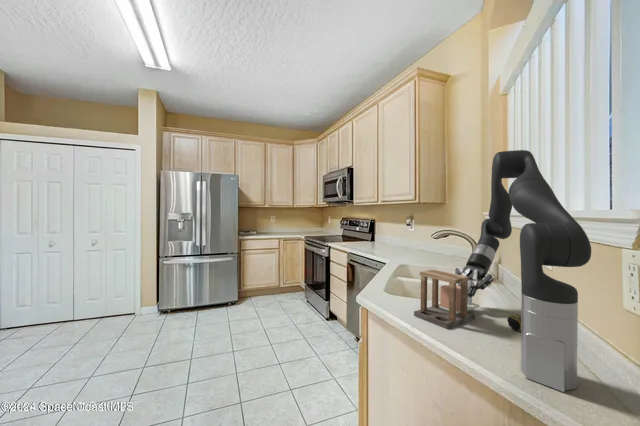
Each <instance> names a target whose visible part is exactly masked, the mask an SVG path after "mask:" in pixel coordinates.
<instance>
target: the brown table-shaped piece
mask: <svg viewBox="0 0 640 426" xmlns="http://www.w3.org/2000/svg"><path fill="white" fill-rule="evenodd" d="M462 275H463V274H462ZM462 275H457V274H455V273H451V272H446V271H442V270H437V269H430V270H429V269H428V270H423V271H419V276H420V309H418V310H414V311H413V316H414V317H416V318H418V319H421V320H424V321H426V322H428V323H431V324H433V325H436V326H439V327H441V328H444V329H446V330H448V329H450V328H453V327H456V326H459V325H461V324H465V323H466V322H469V321H472V320H475V319H476V313H474V312H471V311H467V300H468V281H469V277H467V276H462ZM428 278H430V279H432V282H431V288H432V289H431V294H432V295H431V306H429V307H428ZM439 281H442V282H447V283H448V285H449V311H448V310H445V309H442V308H439V305H440V304H439V284H440V283H439ZM457 283H461V295H460V313H459V314H457V313H456V286H457Z"/></svg>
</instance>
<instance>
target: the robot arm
mask: <svg viewBox="0 0 640 426" xmlns="http://www.w3.org/2000/svg"><path fill="white" fill-rule="evenodd" d="M491 163H492V164H491V182H490V185H491V186H490V187H491V188H490V189H491V190H490V191H491V193H490V194H491V195H490V203H489V210H488V218H486V219H484V220H483V221H482V222H481V225H480V226H481V227H480V236H479V239H478V241H477V244H476V246H475V247H474V248H473V249H472V251H471V253H470V255H469V257H468V260H467V261H466V265H465V266H464V267H463V268H462V269H461V268H460V269H459V268H458V267H457V268H455V272H454V274H457V275H462V276H467V277H469V280H472V286H471V287H470V289H469V291H468V296H469V297H471V298H472V299H473V297H474V296H475V295H476V292H477V291H478V290H482V291H483V290H485V289H486V288H487V287H489V286H490V284H492V282H494V280H495V279H494V276H493V275H492V274H490V273H489V274H488V272H489V270H490V268H491V266H492V263H493V262H494V260H495V256H496V254H497V251H498V249H499V247H500V241H499V239H501V240H505V239H508V238H510V236H511V234H512V232H513V231H512V223H511V212H512V208H514V210H515V211H516V212H517V213H518V214H520V215H521V216H523V217H524V218H526V219H528V220H529V221H531V222H530V223H526V224H524V225H523V226H522V228H521V229H520V234H519V255H520V277H521V278H520V280H521V284H520V285H521V290H520V291H521V297H520V299H521V304H520V305H521V307H520V309H521V310H520V316H521V332H520V370H521V371H522V372H523V374H524V376H525V378H526V379H527V380H530V381H533V382H536V383H538V384H540V385H544V386H546V387H550V388H553V389H555V390H557V391H560V392H563V393H565V392H566V391H570V390H575V389H576V388H578V333H579V332H578V329H579V328H578V326H579V325H578V323H579V322H578V321H579V320H578V318H579V316H578V313H579V311H578V309H579V305H578V304H579V303H578V302H579V293H578V292H579V291H578V290H577V288H576V287H574V286H573V285H571V284H568V283H566V282H563V281H560V280H557V279H556V278H553V277H551V276H550V275H548V274H546V273H545V272H544V269H543V266H547V267H558V268H560V267H561V268H562V267H563V268H579V267H583V266H585V265H586V264H587V263H589V262H590V260H591V256H592V245H591V242H590V239H589V237H588V235H587V233H586V232H585V229H584V228H583V227H582V226H581V225H580V223H578V221H577V220H575V219H574V217H573V216H572V215H571V214H570V213H569V212H568V211H567V210H566V209H565V208H564V206H563V205H562V204H561V202H560V201H559V199H558V198H557V196H556V194H555V192H554V190H553V189H552V187H551V186H550V185H549V183H548V182H547V180H546V179H545V178H544V176H543V175H542V173H541V172H540V169H539V167H538V165H537V162H536V159H535V157H534V154H533V153H532V152H531V151H529V150H526V149H520V150H517V149H516V150H515V149H514V150H504V151H503V150H502V151H498V152H496V153H495V154H494V157H493V159H492V162H491ZM502 179H514V180H513V182H512V183H511V184H510V186H509V188H508V191H507V190H506V188H505V187H504V185H503V182H502V181H503V180H502ZM456 285H457V286H460V287H461V283H456Z"/></svg>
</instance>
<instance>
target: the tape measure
mask: <svg viewBox="0 0 640 426" xmlns="http://www.w3.org/2000/svg"><path fill="white" fill-rule="evenodd" d="M506 321H507V323H508V326H509V328H511V329H513V330H515V331H517V332H520V333H521V314H511V315H509V316H508V317H507V320H506Z"/></svg>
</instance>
